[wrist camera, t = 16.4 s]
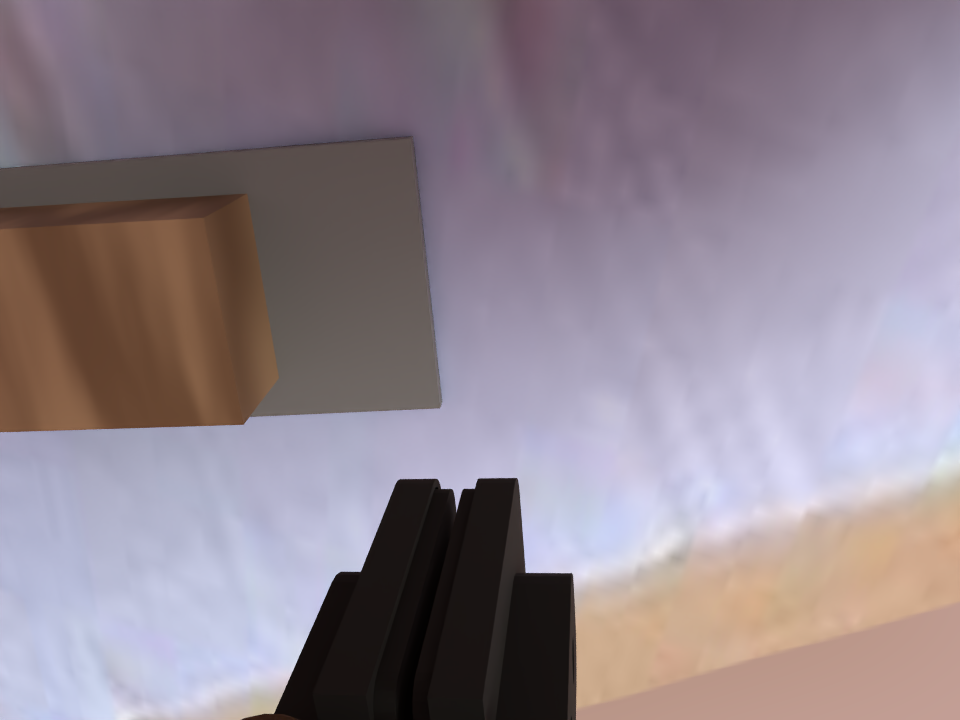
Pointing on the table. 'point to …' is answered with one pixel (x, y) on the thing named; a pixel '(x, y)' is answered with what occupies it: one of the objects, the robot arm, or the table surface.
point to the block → (132, 315)
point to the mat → (303, 259)
